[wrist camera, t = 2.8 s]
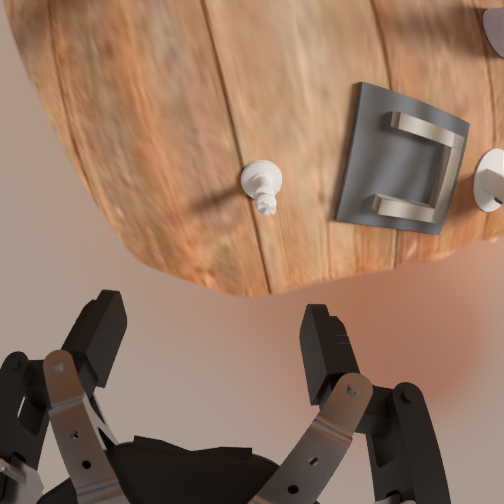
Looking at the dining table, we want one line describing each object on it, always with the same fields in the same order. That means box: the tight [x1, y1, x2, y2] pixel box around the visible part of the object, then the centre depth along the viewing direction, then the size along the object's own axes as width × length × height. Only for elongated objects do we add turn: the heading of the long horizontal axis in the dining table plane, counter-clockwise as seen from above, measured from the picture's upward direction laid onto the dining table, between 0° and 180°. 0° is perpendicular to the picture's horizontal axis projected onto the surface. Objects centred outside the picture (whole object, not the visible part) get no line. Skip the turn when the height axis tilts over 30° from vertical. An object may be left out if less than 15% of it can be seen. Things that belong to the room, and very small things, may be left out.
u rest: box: [335, 82, 470, 235], centre depth 31 cm, size 18×18×3 cm
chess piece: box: [241, 160, 282, 215], centre depth 29 cm, size 5×5×10 cm
